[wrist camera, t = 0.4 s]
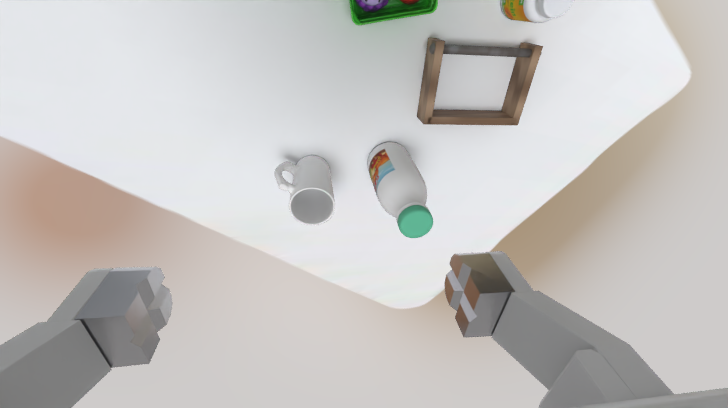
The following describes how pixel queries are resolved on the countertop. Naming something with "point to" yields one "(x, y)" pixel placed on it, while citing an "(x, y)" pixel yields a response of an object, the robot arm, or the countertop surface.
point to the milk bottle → (400, 188)
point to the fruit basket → (388, 9)
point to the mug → (308, 189)
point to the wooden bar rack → (507, 116)
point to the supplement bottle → (535, 9)
